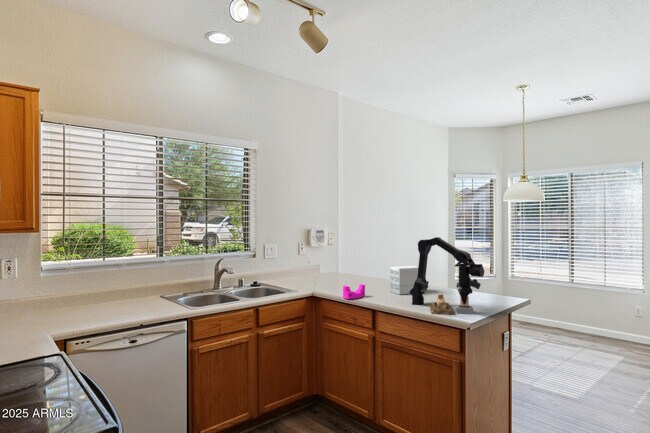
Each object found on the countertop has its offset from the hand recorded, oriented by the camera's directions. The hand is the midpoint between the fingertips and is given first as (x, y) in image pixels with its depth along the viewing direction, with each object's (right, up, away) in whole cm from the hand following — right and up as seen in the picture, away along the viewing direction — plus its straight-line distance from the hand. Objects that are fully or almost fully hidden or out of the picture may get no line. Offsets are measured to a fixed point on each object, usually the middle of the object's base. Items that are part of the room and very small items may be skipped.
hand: (464, 303), depth 216 cm
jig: (-11, -5, +5) cm, 13 cm away
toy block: (-57, -6, +43) cm, 72 cm away
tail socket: (0, -5, 0) cm, 5 cm away
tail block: (0, -1, 0) cm, 1 cm away
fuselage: (-11, -4, +4) cm, 13 cm away
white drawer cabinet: (-21, -6, +59) cm, 63 cm away
